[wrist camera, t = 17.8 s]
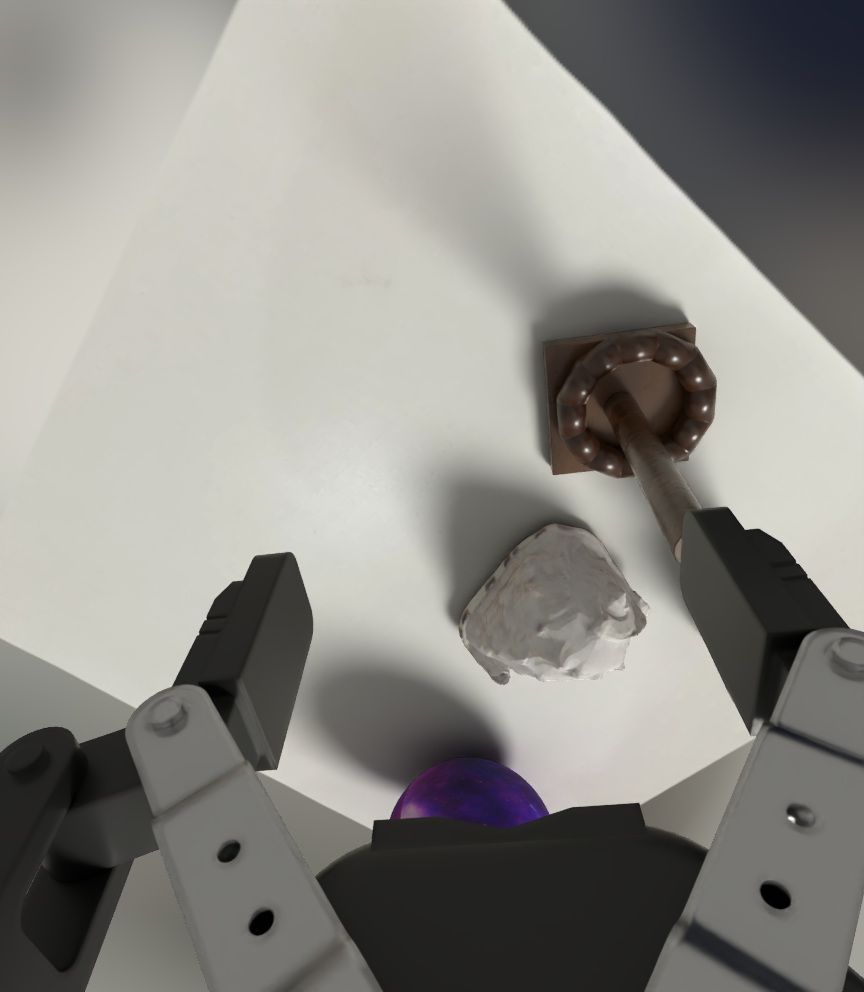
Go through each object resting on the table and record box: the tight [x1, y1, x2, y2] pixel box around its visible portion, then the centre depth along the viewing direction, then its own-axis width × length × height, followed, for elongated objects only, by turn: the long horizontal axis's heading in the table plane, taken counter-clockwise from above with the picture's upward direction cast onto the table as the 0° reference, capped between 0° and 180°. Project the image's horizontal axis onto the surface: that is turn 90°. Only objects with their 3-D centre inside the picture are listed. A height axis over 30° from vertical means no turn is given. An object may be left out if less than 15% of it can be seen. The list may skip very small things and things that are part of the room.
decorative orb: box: [390, 757, 550, 828], centre depth 55 cm, size 15×15×15 cm
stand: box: [543, 323, 702, 563], centre depth 34 cm, size 9×9×17 cm
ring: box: [557, 329, 717, 478], centre depth 40 cm, size 10×10×2 cm
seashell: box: [459, 523, 650, 685], centre depth 46 cm, size 12×14×10 cm
